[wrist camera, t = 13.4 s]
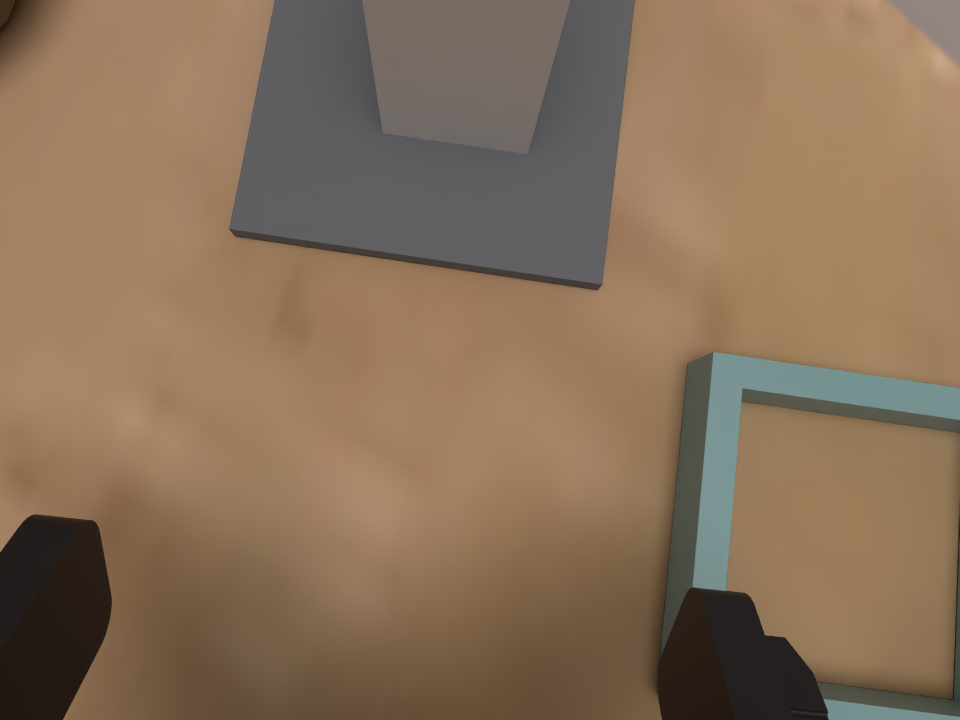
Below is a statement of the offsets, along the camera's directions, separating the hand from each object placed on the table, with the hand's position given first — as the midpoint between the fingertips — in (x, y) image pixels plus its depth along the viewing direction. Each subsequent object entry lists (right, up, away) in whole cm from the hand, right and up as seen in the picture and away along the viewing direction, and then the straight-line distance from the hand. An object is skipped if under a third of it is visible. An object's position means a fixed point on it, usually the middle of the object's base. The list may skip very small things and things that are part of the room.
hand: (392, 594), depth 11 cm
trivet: (0, +11, +11) cm, 16 cm away
